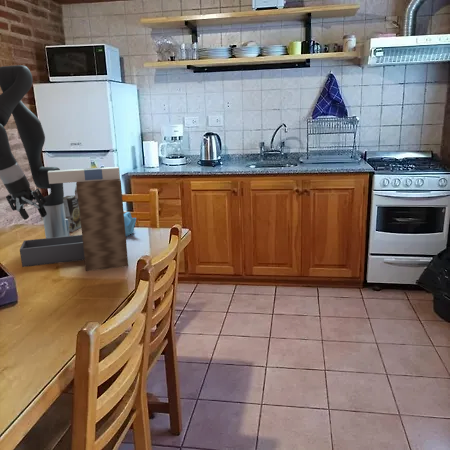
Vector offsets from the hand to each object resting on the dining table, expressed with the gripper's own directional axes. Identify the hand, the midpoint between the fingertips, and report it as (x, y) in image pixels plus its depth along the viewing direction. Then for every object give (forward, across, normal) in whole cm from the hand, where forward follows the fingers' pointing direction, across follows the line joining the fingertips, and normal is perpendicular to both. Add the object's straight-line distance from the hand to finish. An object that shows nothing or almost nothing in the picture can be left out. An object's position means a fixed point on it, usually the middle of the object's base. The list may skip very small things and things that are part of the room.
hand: (35, 217), depth 160 cm
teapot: (+32, -2, -37) cm, 49 cm away
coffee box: (+28, +26, -40) cm, 56 cm away
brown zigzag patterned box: (+24, -19, -2) cm, 31 cm away
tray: (+21, +1, -4) cm, 22 cm away
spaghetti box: (-8, -21, -9) cm, 24 cm away
